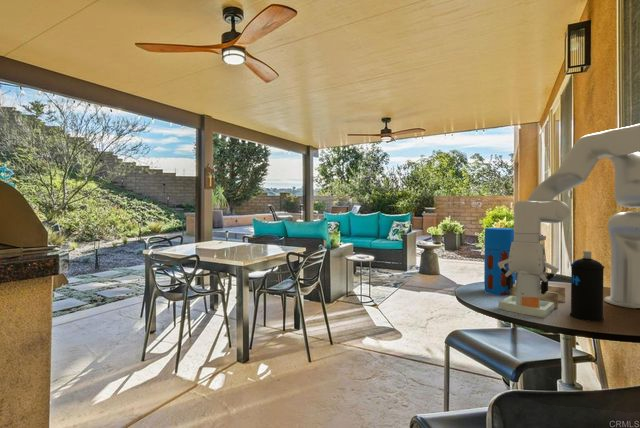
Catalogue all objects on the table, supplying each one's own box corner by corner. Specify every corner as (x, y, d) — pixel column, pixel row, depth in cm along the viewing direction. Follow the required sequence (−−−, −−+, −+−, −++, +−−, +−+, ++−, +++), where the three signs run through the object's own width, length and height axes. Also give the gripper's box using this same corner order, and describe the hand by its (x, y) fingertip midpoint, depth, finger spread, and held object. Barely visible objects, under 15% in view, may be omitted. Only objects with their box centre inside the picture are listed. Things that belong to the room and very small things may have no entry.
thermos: (519, 296, 129) (520, 229, 129) (488, 295, 131) (489, 229, 131) (509, 289, 140) (510, 227, 139) (481, 288, 142) (481, 227, 141)
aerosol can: (604, 317, 105) (605, 251, 104) (603, 323, 99) (604, 254, 98) (571, 311, 110) (572, 249, 110) (568, 317, 104) (568, 251, 104)
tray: (554, 309, 112) (554, 302, 112) (544, 318, 104) (544, 310, 104) (510, 301, 122) (510, 295, 122) (498, 309, 113) (498, 302, 113)
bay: (565, 301, 122) (565, 287, 122) (557, 308, 114) (557, 293, 113) (519, 294, 132) (519, 281, 132) (509, 300, 124) (509, 286, 124)
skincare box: (519, 308, 111) (519, 271, 111) (515, 304, 116) (515, 269, 115) (540, 309, 110) (541, 272, 110) (535, 305, 114) (536, 269, 114)
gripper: (561, 239, 109) (560, 293, 109) (502, 236, 121) (501, 284, 122) (555, 241, 104) (555, 297, 104) (494, 237, 116) (494, 288, 116)
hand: (526, 290), depth 113 cm, fingers open, 9 cm apart
